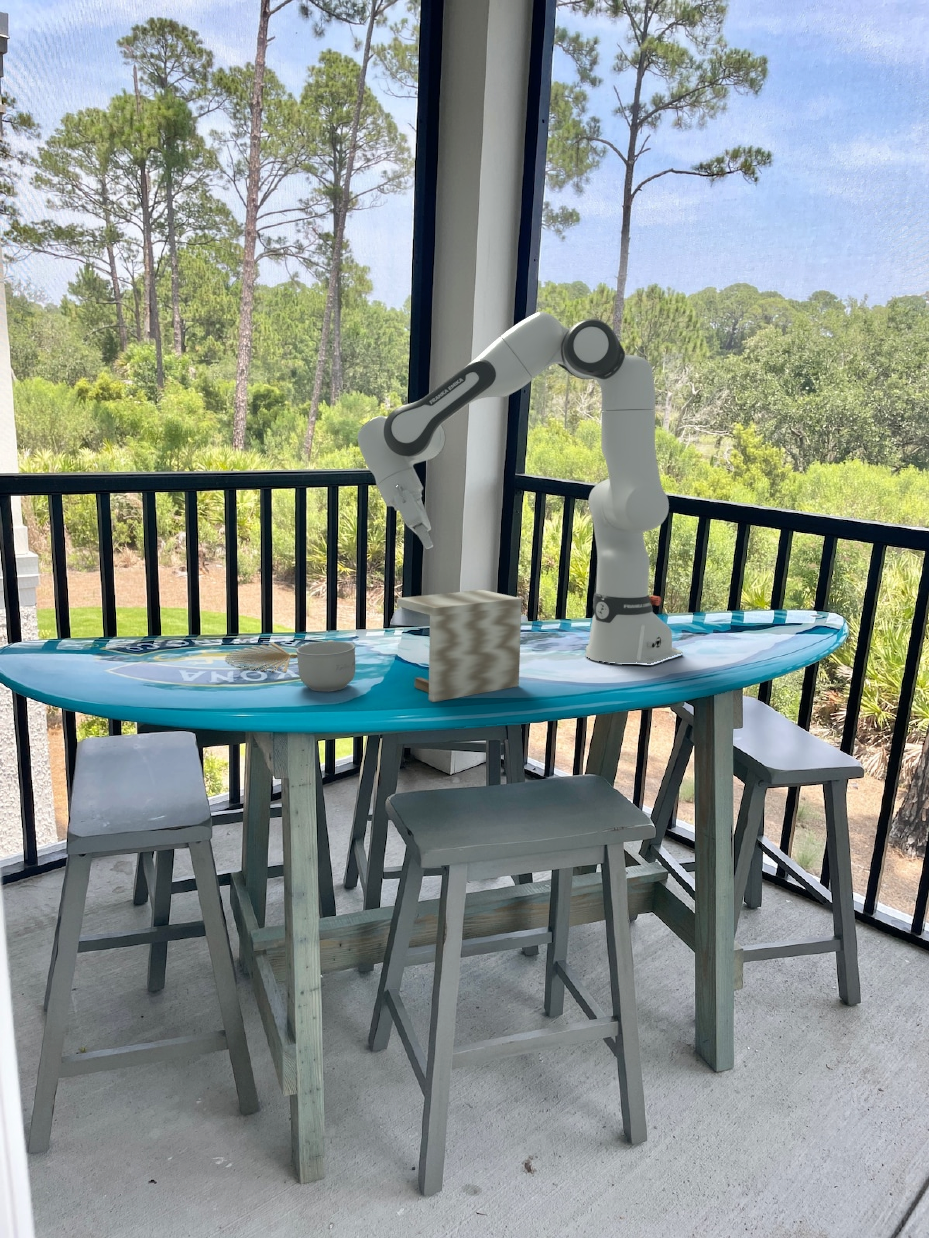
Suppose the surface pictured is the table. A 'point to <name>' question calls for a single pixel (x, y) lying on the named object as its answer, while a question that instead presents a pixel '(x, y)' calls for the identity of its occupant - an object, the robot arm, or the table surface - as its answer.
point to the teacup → (326, 665)
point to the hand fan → (261, 657)
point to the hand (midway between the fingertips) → (429, 547)
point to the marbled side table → (469, 642)
